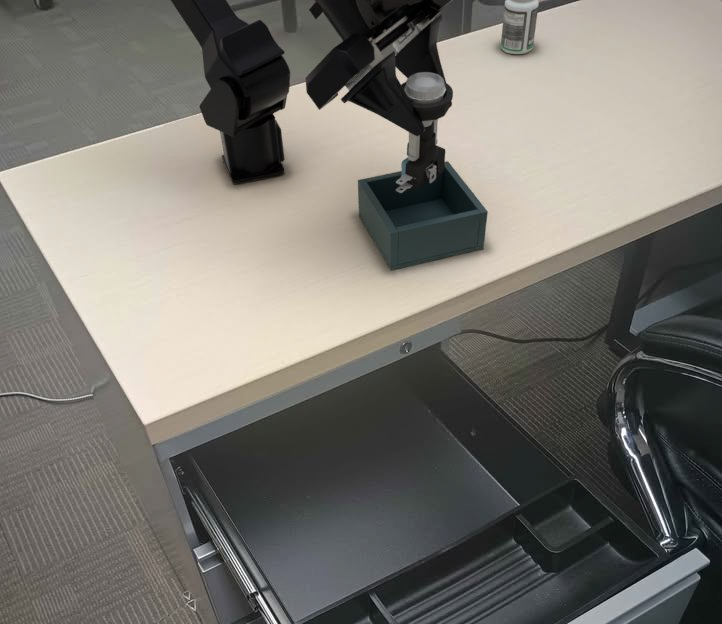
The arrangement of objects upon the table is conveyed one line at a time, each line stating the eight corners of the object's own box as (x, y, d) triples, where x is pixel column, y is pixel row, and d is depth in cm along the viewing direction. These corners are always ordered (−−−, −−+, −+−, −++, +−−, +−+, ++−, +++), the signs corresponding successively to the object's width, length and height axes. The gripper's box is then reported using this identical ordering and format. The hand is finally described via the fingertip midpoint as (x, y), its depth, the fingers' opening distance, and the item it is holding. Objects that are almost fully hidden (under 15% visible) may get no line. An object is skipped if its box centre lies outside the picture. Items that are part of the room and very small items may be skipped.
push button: (418, 206, 77) (421, 109, 69) (377, 186, 79) (375, 91, 71) (457, 174, 80) (465, 78, 71) (416, 156, 82) (419, 61, 73)
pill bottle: (525, 39, 114) (533, -26, 107) (537, 52, 111) (547, -13, 104) (495, 43, 113) (501, -21, 106) (507, 57, 110) (514, -9, 103)
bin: (390, 270, 80) (390, 233, 76) (358, 216, 86) (357, 179, 83) (483, 249, 82) (488, 211, 78) (445, 197, 88) (448, 160, 85)
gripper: (326, -62, 57) (446, 119, 62) (442, -129, 67) (538, 33, 72) (255, 29, 66) (365, 181, 71) (367, -41, 76) (457, 97, 81)
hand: (435, 120), depth 74 cm, fingers closed on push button, 5 cm apart
